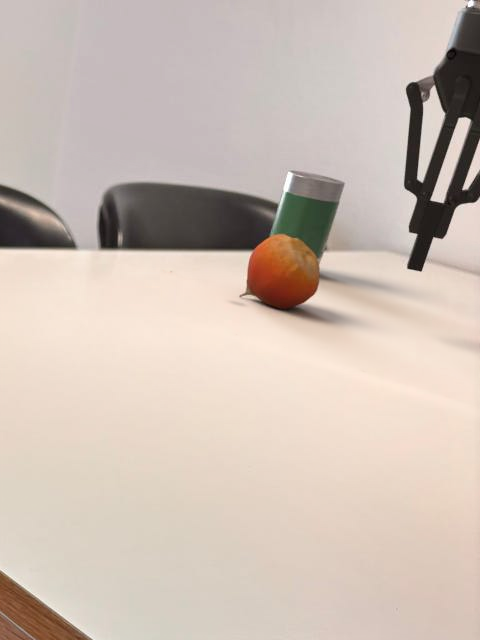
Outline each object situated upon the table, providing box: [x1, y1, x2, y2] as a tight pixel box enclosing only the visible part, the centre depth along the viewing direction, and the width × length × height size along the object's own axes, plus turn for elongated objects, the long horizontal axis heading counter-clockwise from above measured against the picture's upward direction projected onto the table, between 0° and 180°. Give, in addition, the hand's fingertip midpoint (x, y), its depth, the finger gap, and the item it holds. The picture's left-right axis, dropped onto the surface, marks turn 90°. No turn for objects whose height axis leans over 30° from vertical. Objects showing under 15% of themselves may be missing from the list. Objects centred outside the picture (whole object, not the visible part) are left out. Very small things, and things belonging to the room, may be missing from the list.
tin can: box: [268, 170, 346, 265], centre depth 135 cm, size 7×7×11 cm
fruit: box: [239, 234, 320, 310], centre depth 115 cm, size 8×8×8 cm
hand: (414, 268), depth 112 cm, fingers closed
